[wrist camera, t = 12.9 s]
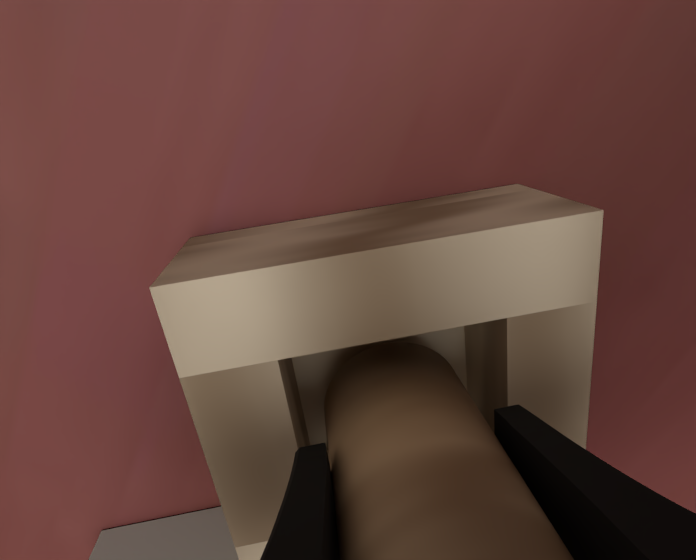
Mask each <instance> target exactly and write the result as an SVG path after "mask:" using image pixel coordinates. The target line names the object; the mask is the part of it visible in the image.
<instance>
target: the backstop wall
mask: <svg viewBox="0 0 696 560" xmlns="http://www.w3.org/2000/svg"><path fill="white" fill-rule="evenodd" d="M88 560H239V558H238V555H237V552H236V549H235V546H234V543H233V540H232V537H231V534H230V531H229V528H228V525H227V522H226V519H225V516H224V513H223V510H222V506H221V507H216V508H211V509H206V510H201V511H196V512H191V513H186V514H181V515H176V516H171V517H167V518H162V519H157V520H152V521H147V522H142V523H137V524H132V525H127V526H122V527H117V528H112V529H107V530H102V531H101V533H100V535H99V538H98V540H97V542H96V544H95V546H94V549H93V551H92V553H91V555H90V557H89V559H88Z"/></svg>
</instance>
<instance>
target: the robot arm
mask: <svg viewBox="0 0 696 560" xmlns="http://www.w3.org/2000/svg"><path fill="white" fill-rule="evenodd" d="M494 433H495V436H496V437H497V439H498V440H499V442H500V443H501V445H502V447H503V448H504V450H505V451H506V453H507V455H508V456H509V458H510V459H511V461H512V462H513V464H514V466H515V467H516V469H517V470H518V472H519V473H520V475H521V477H522V478H523V480H524V481H525V483H526V484H527V486H528V488H529V489H530V491H531V492H532V494H533V496H534V497H535V499H536V500H537V502H538V503H539V505H540V507H541V508H542V510H543V511H544V513H545V514H546V516H547V518H548V519H549V521H550V522H551V524H552V525H553V527H554V529H555V530H556V532H557V533H558V535H559V536H560V538H561V540H562V541H563V543H564V544H565V546H566V548H567V549H568V551H569V552H570V554H571V555H572V557H573V559H574V560H696V514H695V513H693V512H691V511H689V510H687V509H685V508H684V507H682V506H680V505H678V504H676V503H674V502H672V501H670V500H669V499H667V498H665V497H663V496H661V495H660V494H658V493H656V492H654V491H653V490H651V489H649V488H647V487H646V486H644V485H642V484H641V483H639V482H637V481H635V480H634V479H632V478H630V477H629V476H627V475H625V474H624V473H622V472H620V471H619V470H617V469H615V468H614V467H612V466H611V465H609V464H607V463H606V462H604V461H603V460H601V459H599V458H598V457H596V456H595V455H593V454H592V453H590V452H589V451H587V450H585V449H584V448H582V447H581V446H579V445H578V444H576V443H575V442H573V441H572V440H570V439H569V438H567V437H566V436H564V435H563V434H562V433H560V432H559V431H557V430H556V429H554V428H553V427H551V426H550V425H548V424H547V423H545V422H544V421H543V420H541V419H540V418H538V417H537V416H535V415H534V414H532V413H531V412H529V411H528V410H527V409H525V408H524V407H522V406H520V405H519V404H518V405H513V406H508V407H503V408H498V409H494ZM260 560H340V552H339V543H338V534H337V524H336V512H335V502H334V493H333V484H332V475H331V469H330V464H329V459H328V454H327V449H326V444H325V443H320V444H315V445H310V446H305V447H299V449H298V450H297V451H296V452H295V457H294V462H293V466H292V471H291V474H290V478H289V482H288V485H287V488H286V491H285V495H284V498H283V501H282V504H281V507H280V509H279V512H278V515H277V518H276V521H275V524H274V526H273V529H272V532H271V534H270V537H269V539H268V542H267V544H266V547H265V549H264V551H263V554H262V556H261V559H260Z"/></svg>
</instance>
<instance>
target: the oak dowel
mask: <svg viewBox="0 0 696 560" xmlns="http://www.w3.org/2000/svg"><path fill="white" fill-rule="evenodd" d="M324 415H325V425H326V434H327V443H328V452H329V461H330V469H331V475H332V484H333V493H334V502H335V512H336V524H337V534H338V543H339V552H340V560H574V559H573V557H572V555H571V554H570V552H569V551H568V549H567V548H566V546H565V544H564V543H563V541H562V540H561V538H560V536H559V535H558V533H557V532H556V530H555V529H554V527H553V525H552V524H551V522H550V521H549V519H548V518H547V516H546V514H545V513H544V511H543V510H542V508H541V507H540V505H539V503H538V502H537V500H536V499H535V497H534V496H533V494H532V492H531V491H530V489H529V488H528V486H527V484H526V483H525V481H524V480H523V478H522V477H521V475H520V473H519V472H518V470H517V469H516V467H515V466H514V464H513V462H512V461H511V459H510V458H509V456H508V455H507V453H506V451H505V450H504V448H503V447H502V445H501V443H500V442H499V440H498V439H497V437H496V436H495V434H494V432H493V431H492V429H491V428H490V426H489V425H488V423H487V421H486V420H485V418H484V417H483V415H482V414H481V412H480V410H479V409H478V407H477V406H476V404H475V403H474V401H473V399H472V398H471V396H470V395H469V393H468V391H467V390H466V388H465V387H464V385H463V384H462V382H461V380H460V379H459V377H458V376H457V374H456V373H455V371H454V369H453V368H452V366H451V365H450V364H449V363H448V361H447V360H446V359H445V358H444V357H442V356H441V355H440V354H439V353H437V352H435V351H434V350H432V349H430V348H428V347H425V346H422V345H419V344H414V343H408V342H394V343H386V344H381V345H377V346H374V347H371V348H369V349H367V350H364V351H362V352H360V353H359V354H357V355H355V356H354V357H352V358H351V359H350V360H349V361H347V362H346V363H345V364H344V365H343V366H342V367H341V368H340V369H339V370H338V372H337V373H336V374H335V375H334V377H333V379H332V380H331V382H330V384H329V387H328V389H327V392H326V396H325V401H324Z"/></svg>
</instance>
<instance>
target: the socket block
mask: <svg viewBox="0 0 696 560" xmlns="http://www.w3.org/2000/svg"><path fill="white" fill-rule="evenodd" d="M603 211H604V210H602V209H598V208H595V207H592V206H588V205H585V204H582V203H579V202H575V201H572V200H569V199H566V198H562V197H559V196H556V195H553V194H549V193H546V192H543V191H540V190H536V189H533V188H530V187H527V186H523V185H520V184H514V185H508V186H502V187H496V188H489V189H483V190H477V191H471V192H465V193H459V194H453V195H447V196H441V197H435V198H429V199H423V200H417V201H410V202H404V203H398V204H392V205H386V206H380V207H374V208H368V209H362V210H356V211H350V212H344V213H338V214H332V215H325V216H319V217H313V218H307V219H301V220H295V221H289V222H283V223H277V224H271V225H265V226H259V227H253V228H246V229H240V230H234V231H228V232H222V233H216V234H210V235H204V236H198V237H192V238H190V239H189V240H188V241H187V242H186V244H185V245H184V246H183V247H182V248H181V250H180V251H179V252H178V253H177V255H176V256H175V257H174V258H173V259H172V261H171V262H170V263H169V264H168V265H167V267H166V268H165V269H164V270H163V272H162V273H161V274H160V275H159V276H158V278H157V279H156V280H155V281H154V282H153V284H152V285H151V286H150V287H149V288H150V291H151V294H152V297H153V300H154V303H155V306H156V309H157V312H158V316H159V319H160V322H161V325H162V328H163V331H164V334H165V337H166V340H167V343H168V346H169V349H170V352H171V355H172V358H173V361H174V364H175V367H176V370H177V373H178V376H179V379H180V382H181V385H182V388H183V391H184V394H185V397H186V400H187V403H188V406H189V409H190V413H191V416H192V419H193V422H194V425H195V428H196V431H197V434H198V437H199V440H200V443H201V446H202V449H203V452H204V455H205V458H206V461H207V464H208V467H209V470H210V473H211V476H212V479H213V482H214V485H215V488H216V491H217V494H218V497H219V500H220V503H221V506H222V510H223V513H224V516H225V519H226V522H227V525H228V528H229V531H230V534H231V537H232V540H233V543H234V546H235V549H236V552H237V555H238V558H239V560H260V559H261V556H262V554H263V551H264V549H265V547H266V544H267V542H268V539H269V537H270V534H271V532H272V529H273V526H274V524H275V521H276V518H277V515H278V512H279V509H280V507H281V504H282V501H283V498H284V495H285V491H286V488H287V485H288V482H289V478H290V474H291V471H292V466H293V462H294V457H295V452H296V451H297V450H298V449H299V447H305V446H310V445H315V444H320V443H325V444H326V449H327V454H328V459H329V452H328V443H327V434H326V425H325V415H324V401H325V396H326V392H327V389H328V387H329V384H330V382H331V380H332V379H333V377H334V375H335V374H336V373H337V372H338V370H339V369H340V368H341V367H342V366H343V365H344V364H345V363H346V362H347V361H349V360H350V359H351V358H352V357H354V356H355V355H357V354H359V353H360V352H362V351H364V350H367V349H369V348H371V347H374V346H377V345H381V344H386V343H394V342H408V343H414V344H419V345H422V346H425V347H428V348H430V349H432V350H434V351H435V352H437V353H439V354H440V355H441V356H442V357H444V358H445V359H446V360H447V361H448V363H449V364H450V365H451V366H452V368H453V369H454V371H455V373H456V374H457V376H458V377H459V379H460V380H461V382H462V384H463V385H464V387H465V388H466V390H467V391H468V393H469V395H470V396H471V398H472V399H473V401H474V403H475V404H476V406H477V407H478V409H479V410H480V412H481V414H482V415H483V417H484V418H485V420H486V421H487V423H488V425H489V426H490V428H491V429H492V431H493V432H494V409H498V408H503V407H508V406H513V405H518V404H519V405H520V406H522V407H524V408H525V409H527V410H528V411H529V412H531V413H532V414H534V415H535V416H537V417H538V418H540V419H541V420H543V421H544V422H545V423H547V424H548V425H550V426H551V427H553V428H554V429H556V430H557V431H559V432H560V433H562V434H563V435H564V436H566V437H567V438H569V439H570V440H572V441H573V442H575V443H576V444H578V445H579V446H581V447H582V448H584V449H585V450H586V439H587V425H588V412H589V399H590V385H591V372H592V359H593V345H594V332H595V318H596V305H597V292H598V278H599V265H600V251H601V238H602V225H603ZM494 434H495V433H494ZM329 464H330V461H329Z"/></svg>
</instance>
